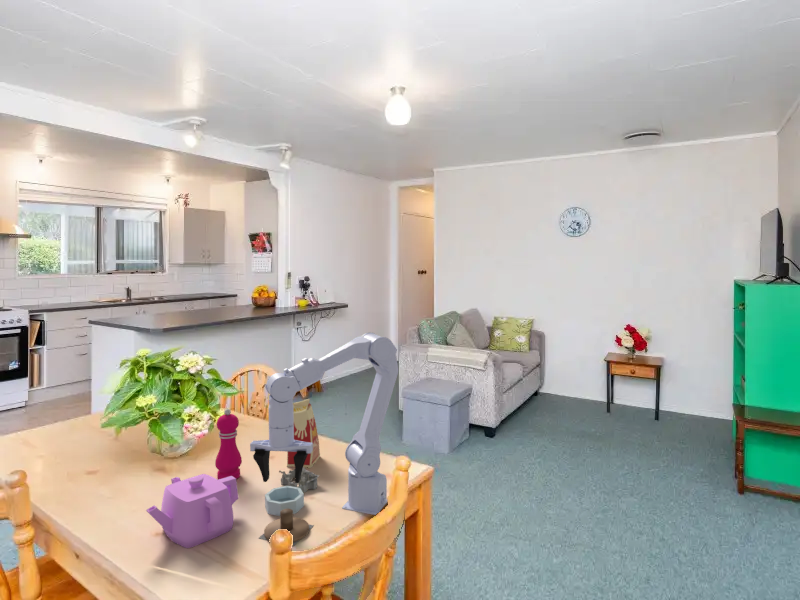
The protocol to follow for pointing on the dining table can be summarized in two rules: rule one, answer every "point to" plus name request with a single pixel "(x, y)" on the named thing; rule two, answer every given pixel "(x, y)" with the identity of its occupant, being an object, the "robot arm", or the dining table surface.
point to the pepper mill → (228, 447)
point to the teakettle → (196, 509)
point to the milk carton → (304, 432)
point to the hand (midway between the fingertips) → (282, 480)
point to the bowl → (284, 499)
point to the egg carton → (305, 482)
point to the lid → (288, 525)
